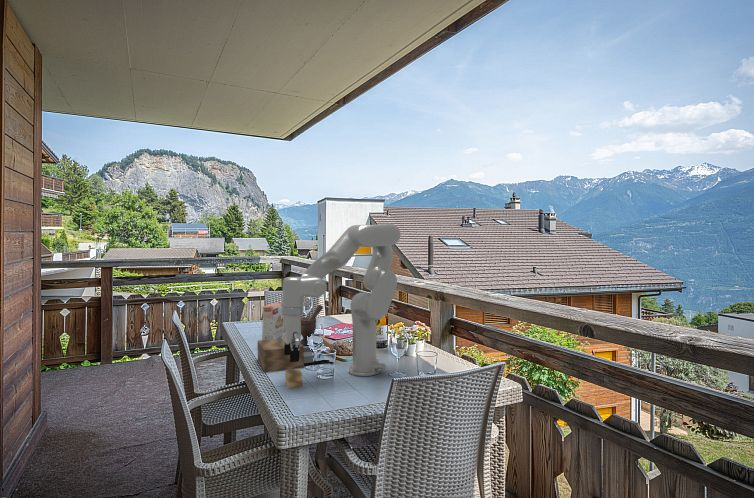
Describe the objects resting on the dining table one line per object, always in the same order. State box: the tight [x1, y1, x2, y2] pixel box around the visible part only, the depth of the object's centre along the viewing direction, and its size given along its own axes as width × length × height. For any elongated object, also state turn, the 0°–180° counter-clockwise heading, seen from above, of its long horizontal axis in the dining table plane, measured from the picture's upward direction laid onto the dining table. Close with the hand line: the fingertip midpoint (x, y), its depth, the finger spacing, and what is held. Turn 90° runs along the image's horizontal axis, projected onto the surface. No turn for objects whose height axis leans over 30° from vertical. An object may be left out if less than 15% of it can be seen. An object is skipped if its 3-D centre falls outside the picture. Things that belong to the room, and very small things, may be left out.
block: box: [284, 368, 303, 389], centre depth 156 cm, size 5×5×5 cm
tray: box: [304, 334, 335, 364], centre depth 187 cm, size 16×18×8 cm
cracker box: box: [261, 302, 284, 340], centre depth 211 cm, size 14×6×21 cm, turn 168°
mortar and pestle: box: [300, 304, 324, 347], centre depth 217 cm, size 12×9×20 cm
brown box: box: [257, 338, 305, 373], centre depth 182 cm, size 16×18×9 cm
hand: (291, 358), depth 156 cm, fingers open, 9 cm apart
